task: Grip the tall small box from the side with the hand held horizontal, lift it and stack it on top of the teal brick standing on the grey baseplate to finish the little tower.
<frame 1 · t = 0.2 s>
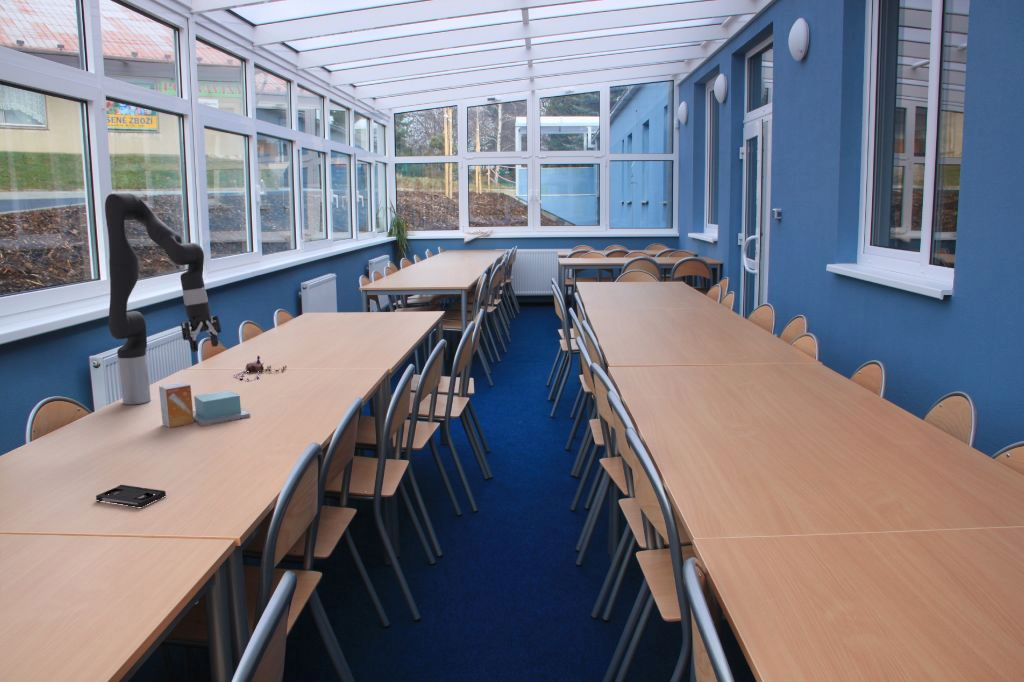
hand: (205, 348, 262), 22 cm above the table, tool pointing down, fingers open, 8 cm apart
small box: (178, 424, 251), on the table
tower base: (218, 416, 259), on the table
playset: (258, 376, 321), on the table
vhs tape: (131, 501, 188), on the table
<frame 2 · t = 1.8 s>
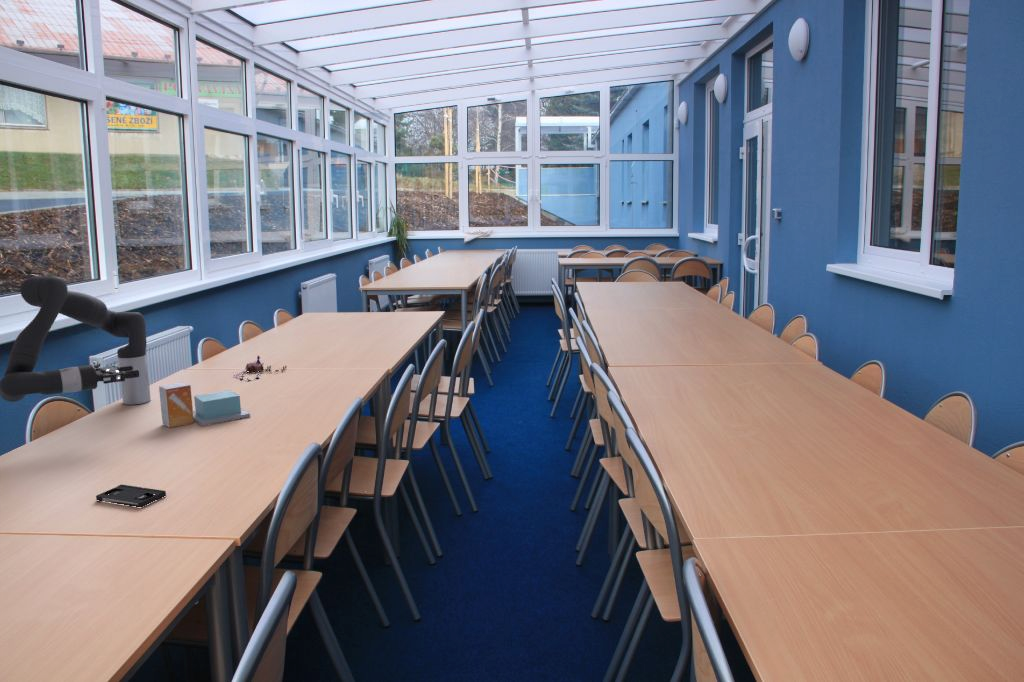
hand: (135, 371, 241), 19 cm above the table, tool horizontal, fingers open, 8 cm apart
nothing on the table moved.
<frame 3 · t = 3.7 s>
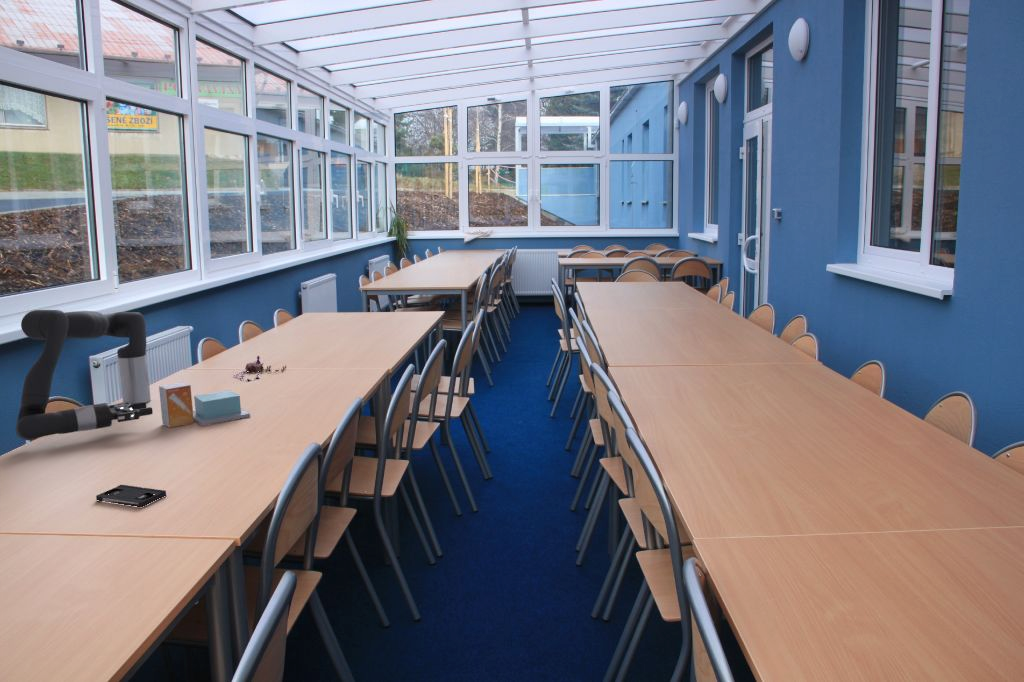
hand: (149, 407, 245), 7 cm above the table, tool horizontal, fingers open, 8 cm apart
nothing on the table moved.
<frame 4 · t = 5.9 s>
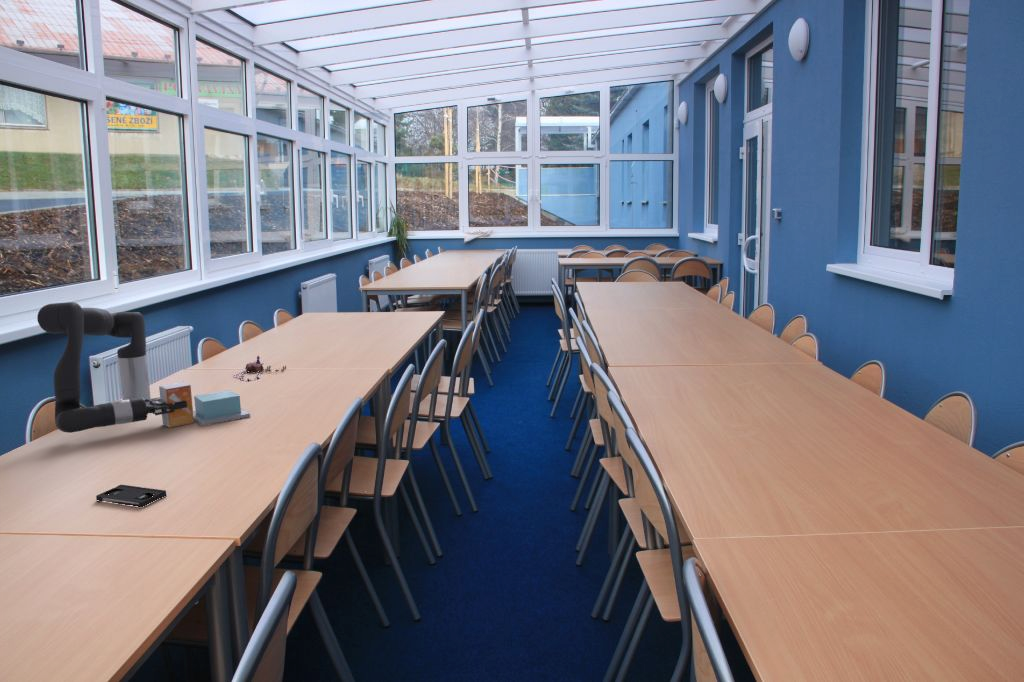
hand: (183, 401, 251), 7 cm above the table, tool horizontal, fingers closed on small box, 6 cm apart
small box: (178, 424, 251), on the table, touching gripper
everything else where it was.
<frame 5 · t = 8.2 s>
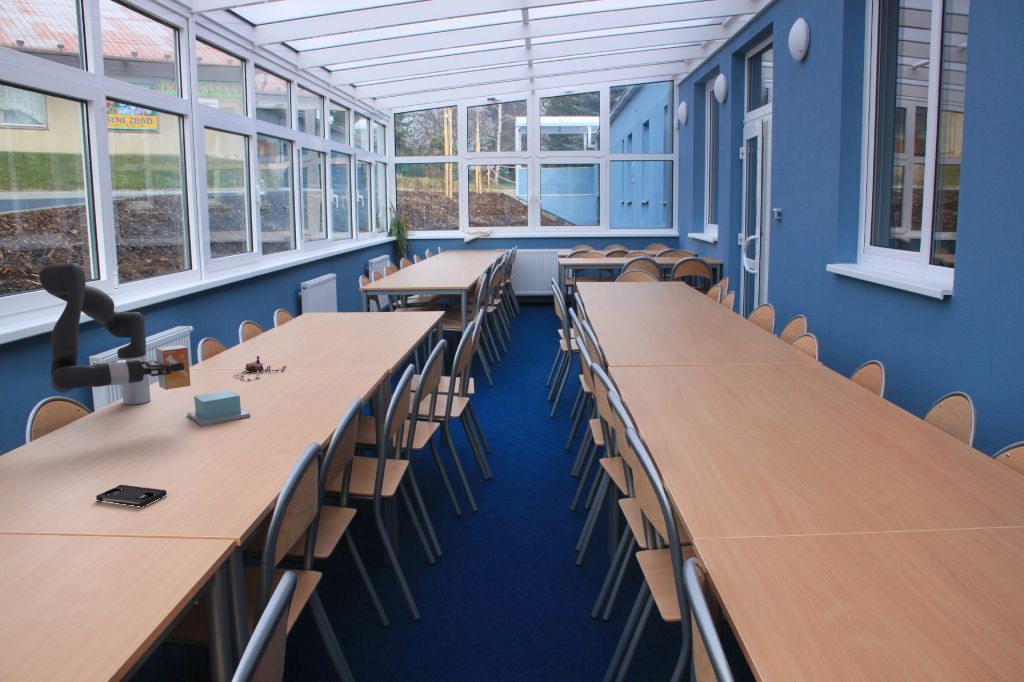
hand: (180, 364, 249), 20 cm above the table, tool horizontal, fingers closed on small box, 6 cm apart
small box: (175, 387, 249), point 12 cm above the table, touching gripper
everything else where it was.
when the fingers open (15 cm above the table, at t = 10.8 s): small box stays where it is, resting on tower base.
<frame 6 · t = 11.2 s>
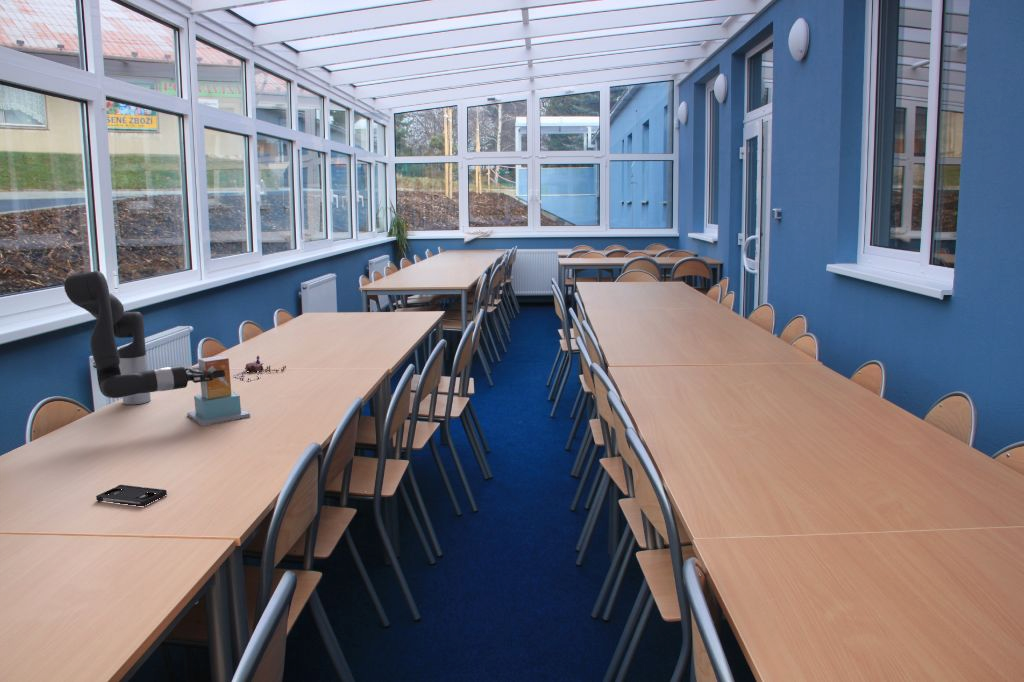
hand: (220, 370, 257), 16 cm above the table, tool horizontal, fingers open, 8 cm apart
small box: (216, 396, 258), point 7 cm above the table, touching tower base
everything else where it was.
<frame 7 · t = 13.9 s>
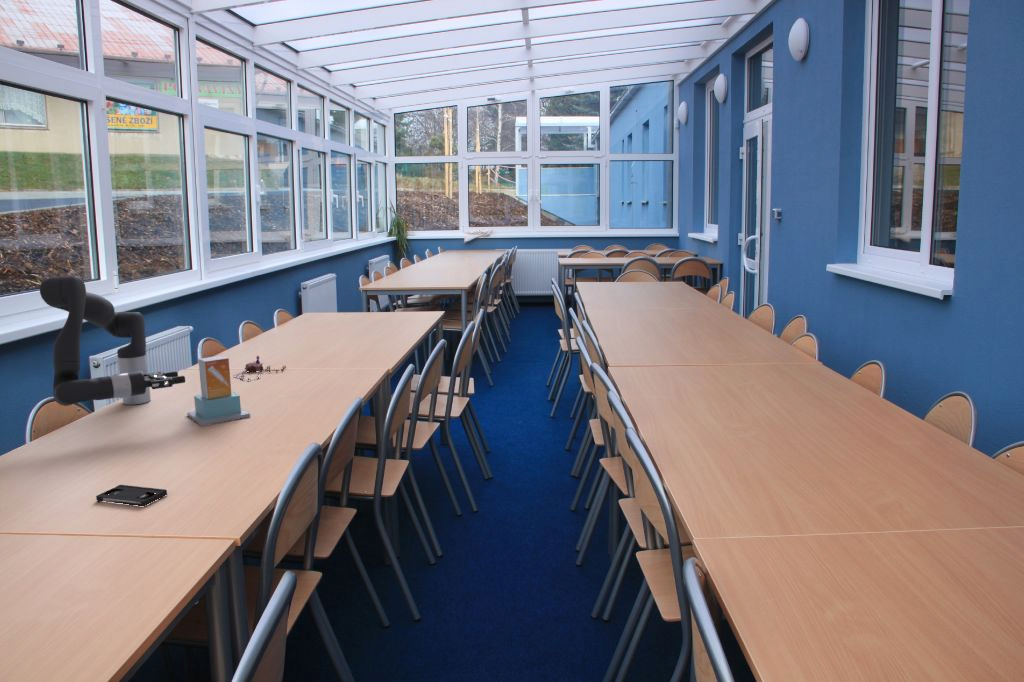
hand: (181, 376, 250), 16 cm above the table, tool horizontal, fingers open, 8 cm apart
nothing on the table moved.
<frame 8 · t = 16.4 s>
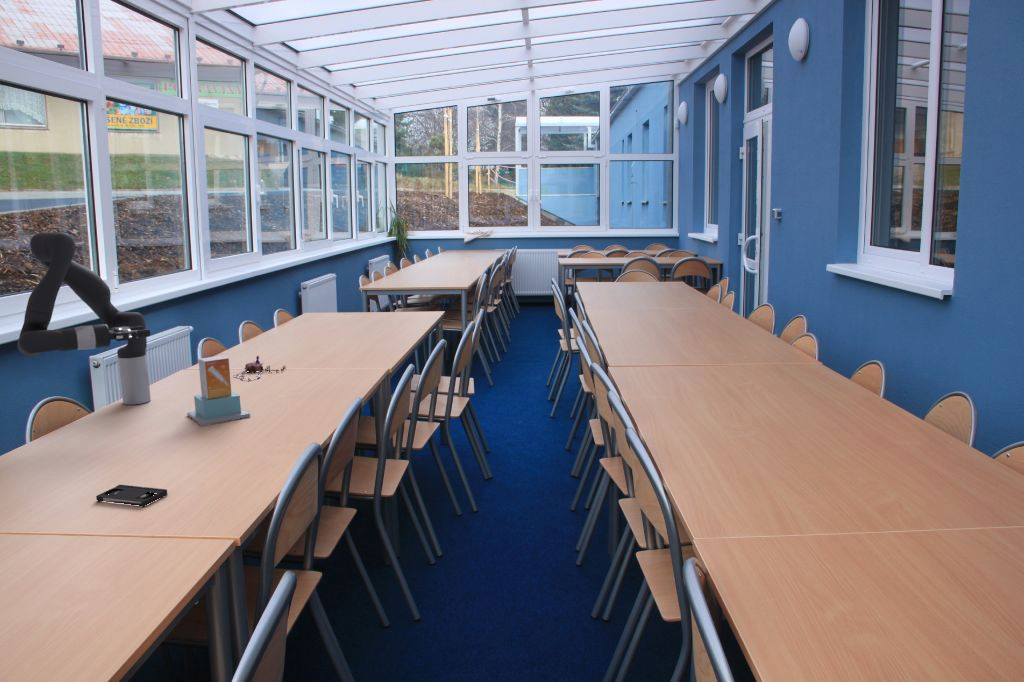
hand: (146, 330, 253), 30 cm above the table, tool horizontal, fingers open, 8 cm apart
nothing on the table moved.
at the end: small box 0.3 cm off-centre on the tower base, point 7.0 cm above the tower base's base; small box tilted 0°; the gripper is holding nothing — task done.
